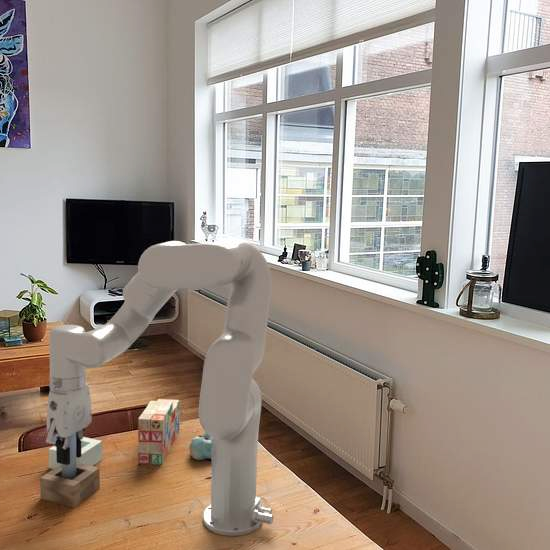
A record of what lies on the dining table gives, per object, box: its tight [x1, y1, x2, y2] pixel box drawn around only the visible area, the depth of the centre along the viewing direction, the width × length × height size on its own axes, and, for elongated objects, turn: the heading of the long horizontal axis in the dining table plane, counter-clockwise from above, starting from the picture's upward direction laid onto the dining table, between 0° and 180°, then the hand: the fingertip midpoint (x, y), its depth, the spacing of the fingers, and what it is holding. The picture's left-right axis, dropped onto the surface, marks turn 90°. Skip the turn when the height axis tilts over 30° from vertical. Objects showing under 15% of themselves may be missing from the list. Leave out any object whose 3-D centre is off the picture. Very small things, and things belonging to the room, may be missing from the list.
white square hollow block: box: [48, 436, 104, 470], centre depth 148 cm, size 9×9×5 cm
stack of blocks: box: [137, 398, 180, 466], centre depth 159 cm, size 21×6×12 cm, turn 177°
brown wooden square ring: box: [39, 463, 101, 508], centre depth 135 cm, size 9×9×5 cm
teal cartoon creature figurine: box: [189, 431, 212, 461], centre depth 156 cm, size 11×7×12 cm
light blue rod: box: [60, 433, 77, 480], centre depth 133 cm, size 3×3×16 cm
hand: (69, 459), depth 134 cm, fingers closed on light blue rod, 3 cm apart
